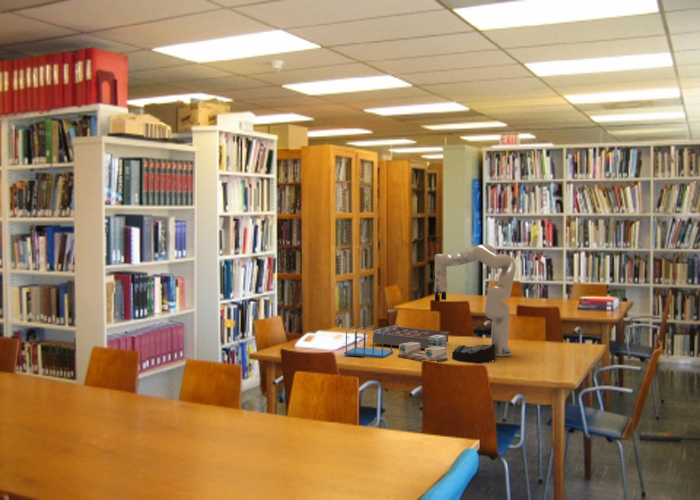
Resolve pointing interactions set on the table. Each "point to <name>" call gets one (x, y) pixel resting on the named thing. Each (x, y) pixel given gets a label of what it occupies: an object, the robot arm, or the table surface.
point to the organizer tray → (406, 335)
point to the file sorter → (368, 351)
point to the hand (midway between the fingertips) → (440, 300)
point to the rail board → (413, 353)
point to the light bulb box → (436, 341)
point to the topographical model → (474, 353)
